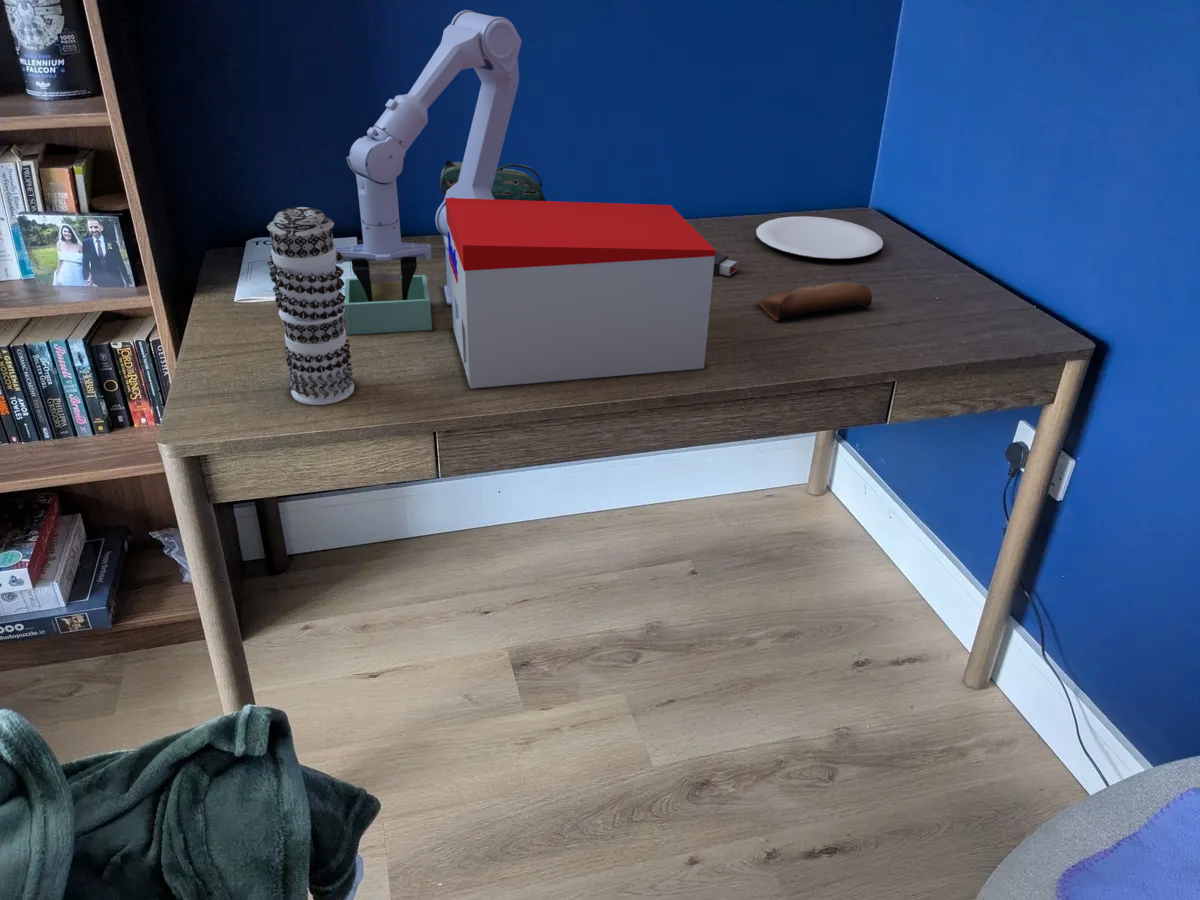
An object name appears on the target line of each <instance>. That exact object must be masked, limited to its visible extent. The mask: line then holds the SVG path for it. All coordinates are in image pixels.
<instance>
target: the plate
mask: <svg viewBox="0 0 1200 900" xmlns="http://www.w3.org/2000/svg"><path fill="white" fill-rule="evenodd" d="M755 234H756V237H757V238H758V239H759V241H760V242H761V243H763V244H765V246H768V247H769V248H771V249H774V250H776V251H779V252H781V253H785V254H789V255H792V256H796V257H801V258H802V257H803V258H808V259H816V260H831V261H838V260H839V261H840V260H841V261H842V260H853V259H861V258H865V257H869V256H872V255H874V254H876V253H878V252H879V251H881V250H882V249H883V246H884V241H883V238H882V237H881V236H880V235H879V234H877V233H876V232H875V231H873V230H871V229H869V228H867V227H865V226H863V225H860V224H857V223H854V222H850V221H846V220H841V219H837V218H830V217H822V216H808V215H807V216H806V215H803V216H802V215H800V216H798V215H797V216H786V217H784V216H783V217H777V218H774V219H770V220H767V221H765V222H763V223H761V224H760V225H758V227H757V228H756V230H755Z"/></svg>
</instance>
